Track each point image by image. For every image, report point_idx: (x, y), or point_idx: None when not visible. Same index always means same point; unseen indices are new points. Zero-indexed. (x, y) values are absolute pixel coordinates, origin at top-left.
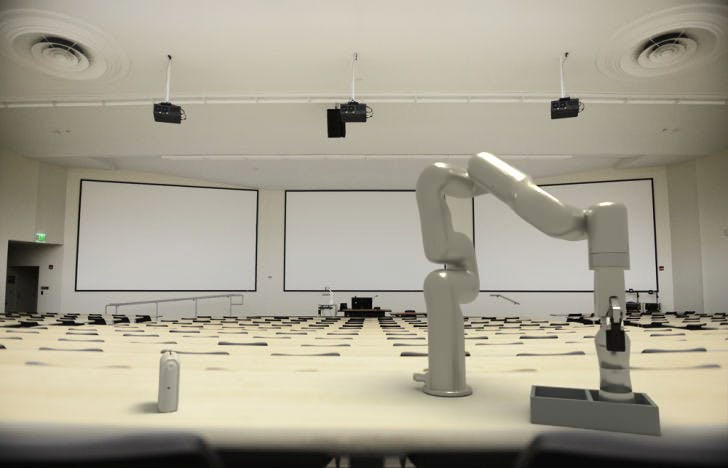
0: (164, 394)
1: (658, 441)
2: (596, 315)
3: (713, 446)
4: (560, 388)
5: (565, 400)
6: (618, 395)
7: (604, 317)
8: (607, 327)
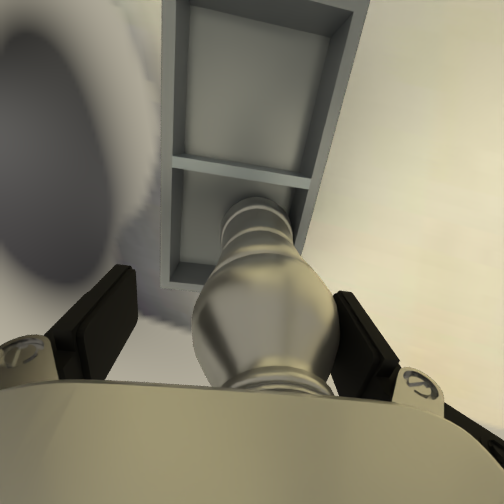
0: None
1: (139, 249)
2: (151, 399)
3: (144, 310)
4: (328, 108)
5: (161, 86)
6: (221, 238)
7: None
8: (45, 351)
